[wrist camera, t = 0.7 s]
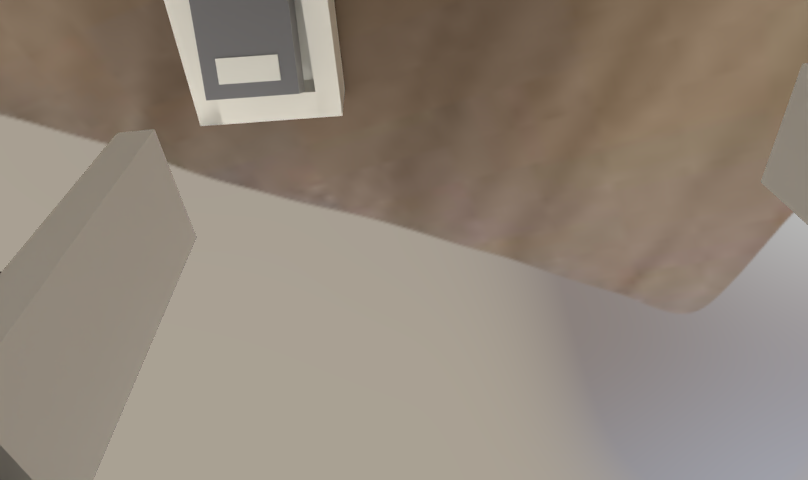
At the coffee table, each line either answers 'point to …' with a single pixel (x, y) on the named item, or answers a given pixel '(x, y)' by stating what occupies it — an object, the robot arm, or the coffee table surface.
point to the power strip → (315, 102)
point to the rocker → (247, 48)
